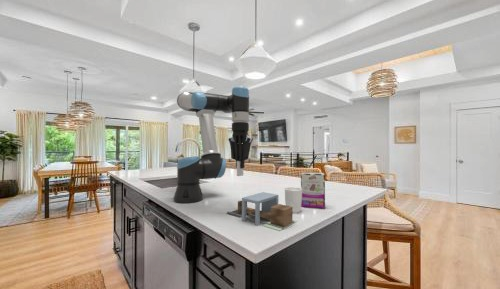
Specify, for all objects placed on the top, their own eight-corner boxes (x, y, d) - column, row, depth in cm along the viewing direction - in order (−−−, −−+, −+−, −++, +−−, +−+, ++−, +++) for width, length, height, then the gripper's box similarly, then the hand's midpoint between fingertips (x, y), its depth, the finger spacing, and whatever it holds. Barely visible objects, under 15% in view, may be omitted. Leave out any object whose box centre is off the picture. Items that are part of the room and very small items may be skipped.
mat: (262, 225, 80) (262, 224, 80) (280, 217, 89) (280, 216, 89) (279, 231, 75) (279, 230, 75) (296, 221, 84) (296, 221, 84)
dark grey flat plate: (226, 213, 94) (226, 213, 94) (241, 208, 102) (241, 208, 102) (239, 217, 89) (239, 217, 89) (255, 211, 97) (255, 211, 97)
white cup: (282, 211, 97) (282, 189, 97) (287, 207, 104) (287, 186, 104) (299, 214, 93) (299, 191, 93) (304, 209, 100) (304, 188, 100)
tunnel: (222, 214, 93) (223, 193, 93) (244, 207, 103) (244, 188, 103) (278, 231, 75) (278, 205, 75) (297, 221, 85) (297, 198, 85)
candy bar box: (324, 206, 106) (324, 172, 106) (325, 209, 101) (325, 174, 101) (301, 204, 109) (301, 171, 109) (300, 207, 105) (300, 173, 105)
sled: (236, 213, 93) (236, 199, 93) (246, 210, 97) (246, 196, 97) (284, 227, 78) (284, 210, 78) (292, 222, 82) (292, 206, 82)
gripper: (224, 122, 97) (223, 175, 97) (245, 120, 89) (245, 178, 89) (235, 123, 103) (235, 173, 103) (257, 122, 95) (256, 176, 95)
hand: (240, 175), depth 96 cm, fingers closed
